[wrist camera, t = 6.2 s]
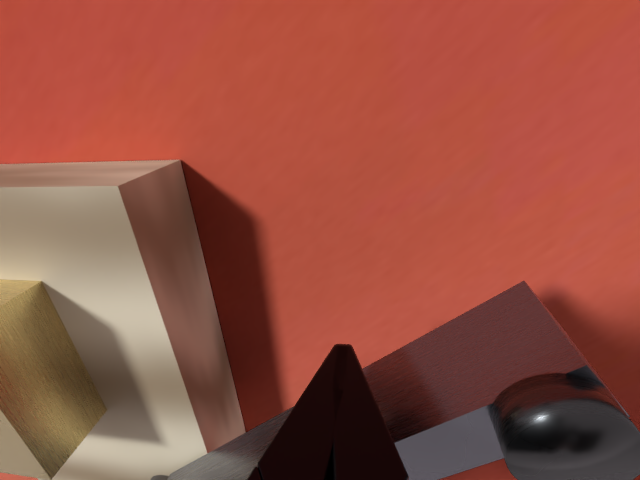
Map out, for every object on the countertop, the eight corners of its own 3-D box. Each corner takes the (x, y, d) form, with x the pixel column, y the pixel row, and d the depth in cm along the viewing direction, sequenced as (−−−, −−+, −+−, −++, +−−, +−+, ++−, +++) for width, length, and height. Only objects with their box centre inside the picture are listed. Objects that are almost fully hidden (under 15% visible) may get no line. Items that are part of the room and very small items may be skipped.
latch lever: (201, 495, 14) (157, 602, 11) (165, 470, 14) (109, 576, 11) (563, 327, 8) (674, 474, 5) (518, 273, 7) (611, 399, 5)
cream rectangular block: (250, 452, 18) (192, 630, 12) (90, 433, 19) (-29, 582, 14) (180, 159, 11) (-38, 250, 5) (-62, 165, 12) (-436, 241, 7)
